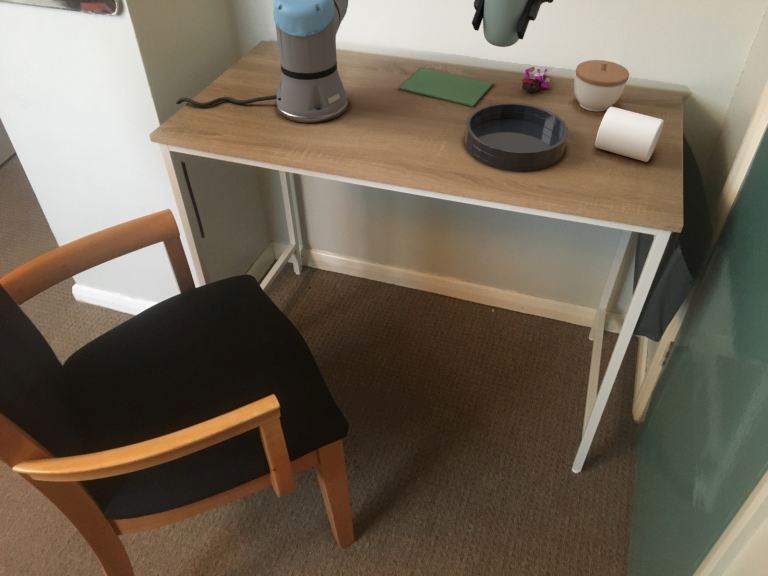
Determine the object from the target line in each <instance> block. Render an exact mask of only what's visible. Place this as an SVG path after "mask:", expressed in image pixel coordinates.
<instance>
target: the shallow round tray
mask: <svg viewBox="0 0 768 576" xmlns="http://www.w3.org/2000/svg"><path fill="white" fill-rule="evenodd" d="M568 138H569V128H568V125H567V124H566V122H565V121H564V120H563V119H562V117H560V116H559V115H557V114H556V113H554V112H552V111H550V110H548V109H545V108H542V107H540V106H536V105H532V104H527V103H521V102H520V103H518V102H497V103H493V104H492V103H491V104H489V105H488V104H487V105H485V106H481V107H479V108H478V109H476V110H473V112H471V113H470V114H469V116H468V117H467V119H466V123H465V131H464V146H465V149H466V150H467V153H469V154H470V156H471V157H472V158H474V159H475V160H477V161H478V162H480V163H482V164H484V165H487V166H489V167H492V168H495V169H499V170H502V171H509V172H533V171H539V170H543V169H546V168H549V167H552V166H553V165H555V164H556V163H558V162H559V161H560V160H561V159H562V158H563V155H564V152H565V149H566V147H567V141H568Z"/></svg>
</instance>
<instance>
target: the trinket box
mask: <svg viewBox="0 0 768 576" xmlns="http://www.w3.org/2000/svg"><path fill="white" fill-rule="evenodd" d="M629 77H630V72H629V70H628V69H627V68H626V67H625V66H623V65H621V64H619V63H616V62H614V61H609V60H604V59H603V60H601V59H592V60H590V59H589V60H586V61H582V62H580V63H579V64H578V65H577V66H576V67H575V75H574V81H573V93H574V96H575V99H576V100H577V102H578V103H579V106H580V107H581V108H582V109H584V110H586V111H590V112H598V113H599V112H604V111H607V110H608V109H609V108H610V107H613V105H615V104H616V103H617V102H618V101H619V99H620V98H621V97H622V95H623V93H624V91H625V89H626V86H627V82H628V80H629Z"/></svg>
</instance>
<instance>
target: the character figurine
mask: <svg viewBox="0 0 768 576" xmlns="http://www.w3.org/2000/svg"><path fill="white" fill-rule="evenodd" d="M524 71H525V74H524V75H525V77H524V78H523V79H522V84H521V90H523V91H525V92H530V93H534V92H537V91H538V90H539V88H542V89H549V84H550V80H551V78H550V77H547V76H546V74H547V72H548V71H549V69H548V68H545V69H544V71H542V72H541V68H537V69H535V66H530V67H529V68H526V69H524ZM534 71H536V73H535V74H533V75H532V76H531V75H530V74H531V73H533V72H534ZM545 76H546V77H545ZM544 77H545V79H544ZM543 82H544V83H543Z"/></svg>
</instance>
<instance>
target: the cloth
mask: <svg viewBox="0 0 768 576" xmlns="http://www.w3.org/2000/svg"><path fill="white" fill-rule="evenodd" d="M493 85H494V83H493V82H489V81H484V80H479V79H476V78H470V77H467V76H461V75H456V74H452V73H447V72H443V71H438V70H434V69H430V68H424V67H421V68H420V69H419V70H417V71H416V72H415V73H414V74H413V75H411V76H410V78H409V79H407V80H406V81H405V82H404V83H402V84H401V86H400V87H399V88H398V90H400V91H404V92H409V93H413V94H417V95H421V96H425V97H430V98H434V99H439V100H441V101H446V102H452V103H455V104H459V105H464V106H467V107H475V106H476V104H477V103H478V102H479V101H480V100H481V99H482V98H483V96H484V95H485V94H487V92H488V90H490V89H491V88H492V86H493Z"/></svg>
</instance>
